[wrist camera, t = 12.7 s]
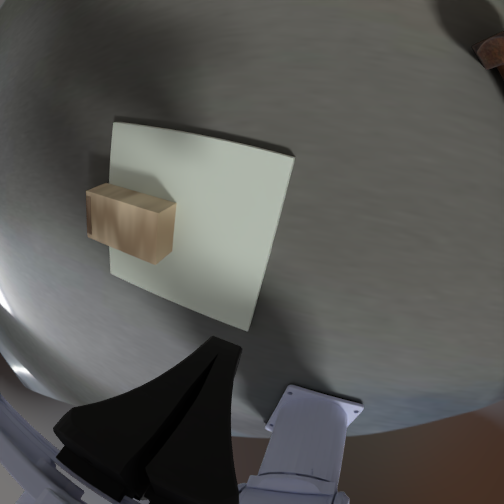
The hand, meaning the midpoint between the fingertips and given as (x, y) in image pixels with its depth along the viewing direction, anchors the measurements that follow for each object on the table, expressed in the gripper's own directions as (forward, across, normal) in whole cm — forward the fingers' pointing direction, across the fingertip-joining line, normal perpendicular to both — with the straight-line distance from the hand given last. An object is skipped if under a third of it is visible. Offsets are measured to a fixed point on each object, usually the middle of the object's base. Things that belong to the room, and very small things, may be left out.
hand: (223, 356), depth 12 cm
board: (+10, +8, 0) cm, 12 cm away
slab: (+8, +8, 0) cm, 11 cm away
